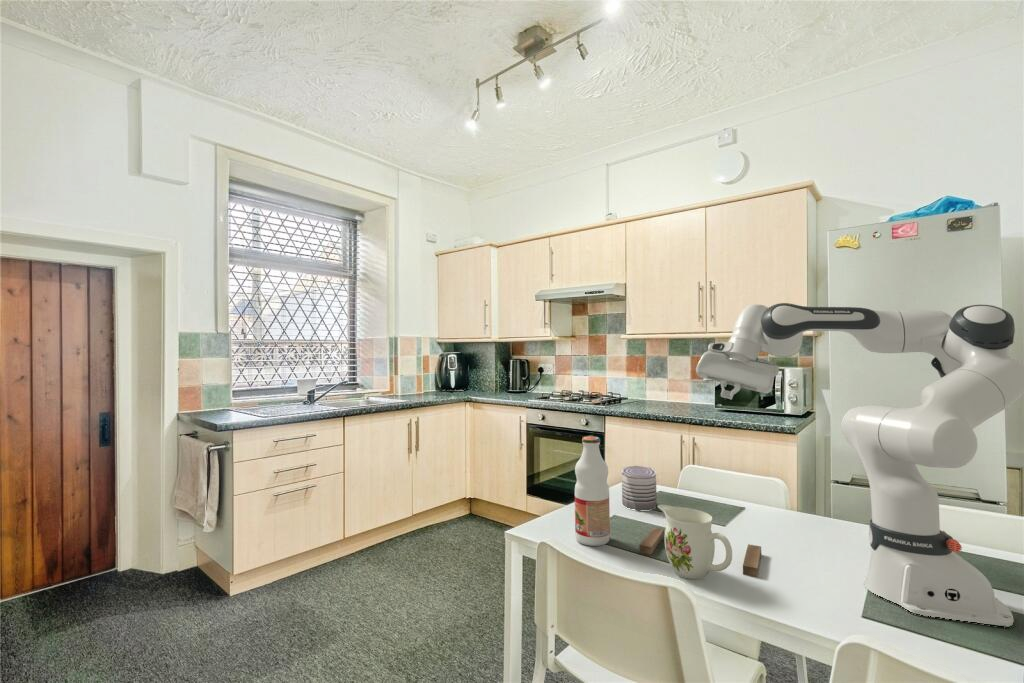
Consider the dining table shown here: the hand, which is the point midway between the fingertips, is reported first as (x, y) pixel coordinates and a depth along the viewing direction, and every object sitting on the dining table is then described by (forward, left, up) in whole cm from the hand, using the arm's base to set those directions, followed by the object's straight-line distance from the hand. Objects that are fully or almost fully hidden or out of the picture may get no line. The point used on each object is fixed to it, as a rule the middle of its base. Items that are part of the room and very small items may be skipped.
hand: (725, 397), depth 133 cm
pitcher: (+4, +29, -39) cm, 48 cm away
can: (+29, -14, -39) cm, 50 cm away
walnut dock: (+5, +16, -39) cm, 42 cm away
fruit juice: (+32, +21, -39) cm, 55 cm away
